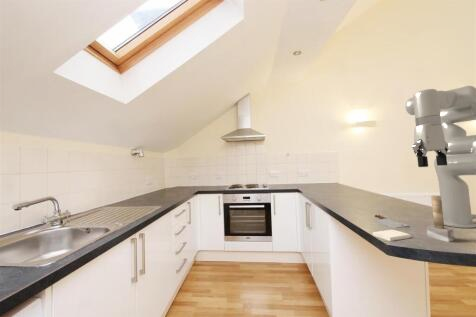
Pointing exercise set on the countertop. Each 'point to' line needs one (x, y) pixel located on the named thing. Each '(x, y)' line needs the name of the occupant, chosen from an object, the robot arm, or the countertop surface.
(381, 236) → the tile
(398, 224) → the kitchen cleaver
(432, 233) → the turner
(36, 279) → the countertop surface
